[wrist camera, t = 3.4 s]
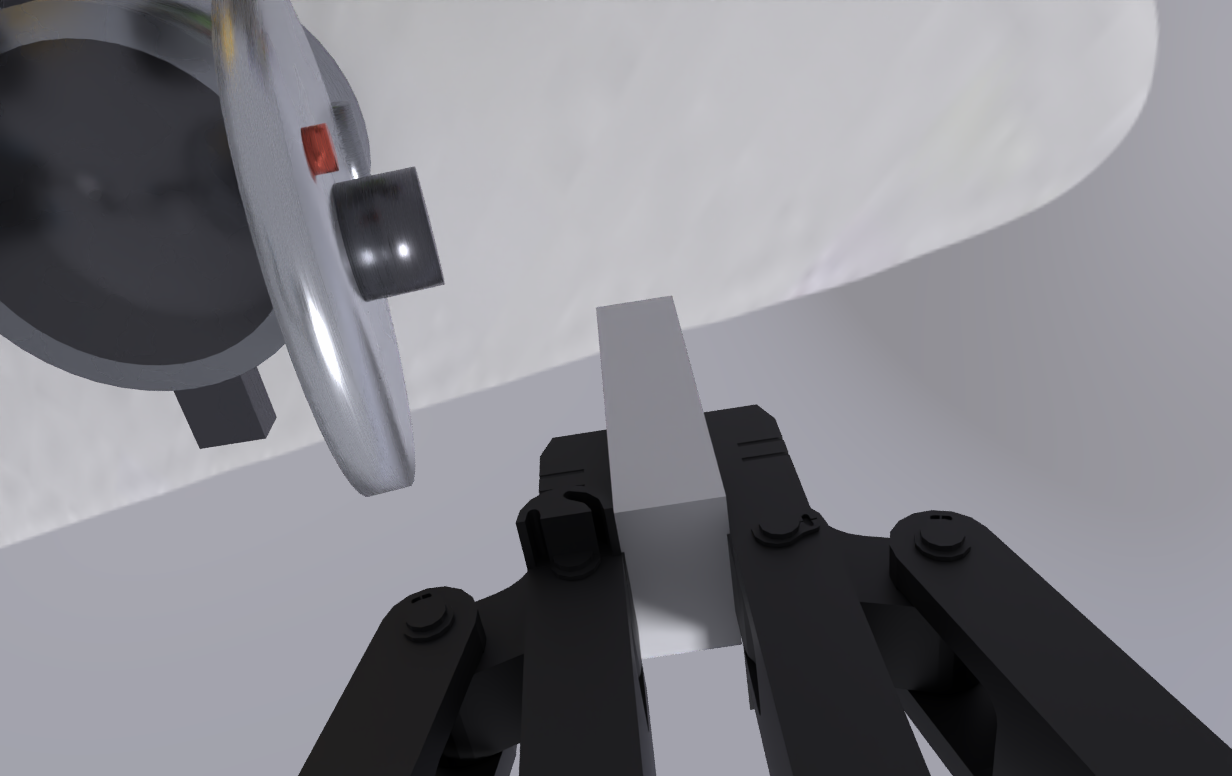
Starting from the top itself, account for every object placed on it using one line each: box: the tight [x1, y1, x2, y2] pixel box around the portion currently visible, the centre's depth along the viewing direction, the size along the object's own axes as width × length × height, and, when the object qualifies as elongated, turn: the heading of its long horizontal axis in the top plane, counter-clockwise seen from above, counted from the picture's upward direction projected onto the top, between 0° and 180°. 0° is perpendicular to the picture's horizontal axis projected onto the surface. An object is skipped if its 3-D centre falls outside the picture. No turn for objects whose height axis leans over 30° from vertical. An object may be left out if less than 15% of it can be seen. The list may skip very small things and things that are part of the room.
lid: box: [211, 0, 445, 497], centre depth 27 cm, size 15×15×4 cm
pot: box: [0, 0, 371, 449], centre depth 38 cm, size 17×22×10 cm
